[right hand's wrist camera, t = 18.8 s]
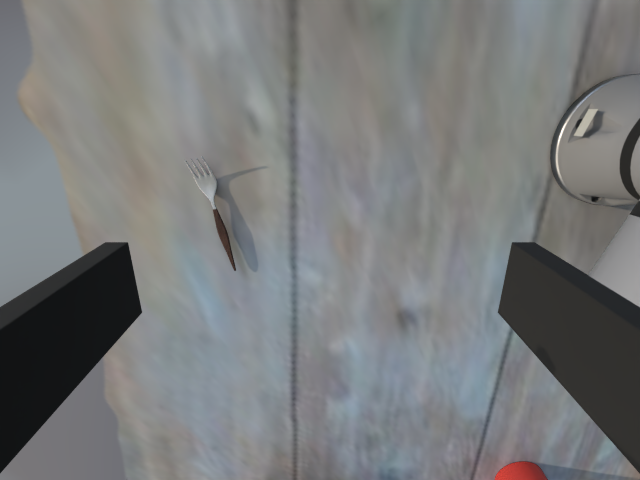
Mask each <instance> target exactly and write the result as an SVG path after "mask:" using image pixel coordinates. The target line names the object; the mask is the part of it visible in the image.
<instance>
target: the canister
mask: <svg viewBox="0 0 640 480" xmlns="http://www.w3.org/2000/svg"><path fill="white" fill-rule="evenodd" d="M495 480H548V479H547V478H546V476H545V475H544V473H543V471H542V470H541V468H540V467H539V466H537V465H536V464H534V463H531V462H515V463H512V464H509V465H507V466H505V467H504V468H502V469H501V470H500V471H499V472H498V473H497V475H496V477H495Z"/></svg>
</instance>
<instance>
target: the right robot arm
mask: <svg viewBox="0 0 640 480" xmlns="http://www.w3.org/2000/svg"><path fill="white" fill-rule="evenodd" d="M550 159H551V167H552V171H553V174H554V177H555V179H556V181H557V183H558V184H559V185H560V187H561V188H562V189H563V190H564V191H565V192H566V193H568V194H569V195H570V196H572V197H574V198H576V199H578V200H581V201H584V202H587V203H590V204H595V205H603V206H619V205H635V204H636V206H635V207H634V209H633V210H632V212H631V213H630V214H629V216H628V217H627V219H626V220H625V222H624V223H623V224H622V226H621V227H620V229H619V230H618V232H617V233H616V235H615V236H614V238H613V239H612V241H611V242H610V244H609V245H608V247H607V248H606V249H605V251H604V252H603V254H602V255H601V257H600V258H599V260H598V261H597V263H596V264H595V266H594V267H593V269H592V270H591V272H590V273H589V275H587V274H585V273H583V272H582V271H580V270H578V269H577V268H575V267H574V266H572V265H570V264H569V263H567V262H565V261H564V260H562V259H561V258H559V257H557V256H556V255H554V254H552V253H551V252H549V251H548V250H546V249H544V248H543V247H541V246H539V245H538V244H536V243H535V242H512V246H511V251H510V255H509V260H508V265H507V270H506V275H505V280H504V285H503V290H502V295H501V300H500V305H499V310H498V313H499V314H500V315H501V316H502V318H503V319H504V320H505V321H506V322H507V323H508V324H509V326H510V327H511V328H512V329H513V330H514V331H515V332H516V333H517V335H518V336H519V337H520V338H521V339H522V340H523V341H524V343H525V344H526V345H527V346H528V347H529V348H530V349H531V350H532V352H533V353H534V354H535V355H536V356H537V357H538V358H539V360H540V361H541V362H542V363H543V364H544V365H545V366H546V367H547V369H548V370H549V371H550V372H551V373H552V374H553V375H554V377H555V378H556V379H557V380H558V381H559V382H560V383H561V385H562V386H563V387H564V388H565V389H566V390H567V391H568V392H569V394H570V395H571V396H572V397H573V398H574V399H575V400H576V402H577V403H578V404H579V405H580V406H581V407H582V408H583V409H584V411H585V412H586V413H587V414H588V415H589V416H590V417H591V419H592V420H593V421H594V422H595V423H596V424H597V425H598V426H599V428H600V429H601V430H602V431H603V432H604V433H605V434H606V436H607V437H608V438H609V439H610V440H611V441H612V442H613V443H614V445H615V446H616V447H617V448H618V449H619V450H620V451H621V453H622V454H623V455H624V456H625V457H626V458H627V459H628V460H629V462H630V463H631V464H632V465H633V466H634V467H635V468H636V470H637V471H638V472H639V473H640V74H633V75H624V76H618V77H614V78H611V79H608V80H606V81H603V82H601V83H599V84H597V85H596V86H594V87H592V88H591V89H589V90H588V91H587V92H585V93H584V94H583V95H582V96H580V97H579V98H578V99H577V100H576V101H575V102H574V103H573V104H572V105H571V107H570V108H569V109H568V110H567V112H566V113H565V114H564V116H563V118H562V119H561V121H560V123H559V125H558V127H557V129H556V132H555V134H554V137H553V141H552V145H551V157H550ZM141 313H142V310H141V305H140V300H139V295H138V290H137V285H136V280H135V275H134V270H133V265H132V260H131V255H130V251H129V246H128V242H105V243H104V244H102V245H101V246H99V247H97V248H96V249H94V250H92V251H91V252H89V253H88V254H86V255H84V256H83V257H81V258H79V259H78V260H76V261H75V262H73V263H71V264H70V265H68V266H66V267H65V268H63V269H62V270H60V271H58V272H57V273H55V274H53V275H52V276H50V277H49V278H47V279H45V280H44V281H42V282H40V283H39V284H37V285H35V286H34V287H32V288H31V289H29V290H27V291H26V292H24V293H22V294H21V295H19V296H18V297H16V298H14V299H13V300H11V301H9V302H8V303H6V304H5V305H3V306H1V307H0V473H1V472H2V471H3V470H4V468H5V467H6V466H7V465H8V464H9V463H10V462H11V460H12V459H13V458H14V457H15V456H16V455H17V454H18V453H19V451H20V450H21V449H22V448H23V447H24V446H25V445H26V443H27V442H28V441H29V440H30V439H31V438H32V437H33V436H34V434H35V433H36V432H37V431H38V430H39V429H40V428H41V426H42V425H43V424H44V423H45V422H46V421H47V420H48V419H49V417H50V416H51V415H52V414H53V413H54V412H55V411H56V409H57V408H58V407H59V406H60V405H61V404H62V403H63V401H64V400H65V399H66V398H67V397H68V396H69V395H70V394H71V392H72V391H73V390H74V389H75V388H76V387H77V386H78V385H79V383H80V382H81V381H82V380H83V379H84V378H85V377H86V375H87V374H88V373H89V372H90V371H91V370H92V369H93V367H94V366H95V365H96V364H97V363H98V362H99V361H100V360H101V358H102V357H103V356H104V355H105V354H106V353H107V352H108V350H109V349H110V348H111V347H112V346H113V345H114V344H115V343H116V341H117V340H118V339H119V338H120V337H121V336H122V335H123V333H124V332H125V331H126V330H127V329H128V328H129V327H130V326H131V324H132V323H133V322H134V321H135V320H136V319H137V318H138V316H139V315H140V314H141Z"/></svg>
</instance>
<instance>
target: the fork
mask: <svg viewBox="0 0 640 480" xmlns="http://www.w3.org/2000/svg"><path fill="white" fill-rule="evenodd" d="M196 159H197V158H196ZM202 159H203V160H204V158H203V157H202ZM191 161H192V159H191ZM197 161H198V163H199V165H200V167H201V169H202V171H203V173H204V176H203V175H202V174H201V173H200V171H199V170H198V168H197V167H196V165H195V164H194V162H193V161H192V163H193V165H194V167H195V169H196V171H197V173H198V175H199V177H197V176H196V174H195V173H194V171H193V170H192V168H191V167H190V166H189V164H188V163H187V161H186V160H185V162H186V163H187V165H188V167H189V169H190V171H191V173H192V174H193V176H194V178H195V181H196V183H197V185H198V187H199V188H200V190H201V191H202V192H203V193H204V194H205V195H206V196H207V197H208V199H209V200H210V202H211V204H212V208H213V212H214V217H215V222H216V227H217V231H218V234H219V237H220V239H221V242H222V244H223V246H224V248H225V250H226V253H227V255H228V257H229V260H230V262H231V264H232V266H233V269H234V271H236V268H235V263H234V259H233V255H232V251H231V246H230V242H229V237H228V233H227V230H226V228H225V226H224V223H223V221H222V219H221V217H220V215H219V212H218V210H217V208H216V206H215V203H214V196H215V193H216V189H217V180H216V178H215V176H214V174H213V172H212V171H211V169H210V167H209V166H208V164H207V163H206V161H205V160H204V162H205V164H206V166H207V169H208V171H209V173H210V174H207V172H206V171H205V169H204V168H203V166H202V165H201V163H200V162H199V160H198V159H197Z"/></svg>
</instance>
